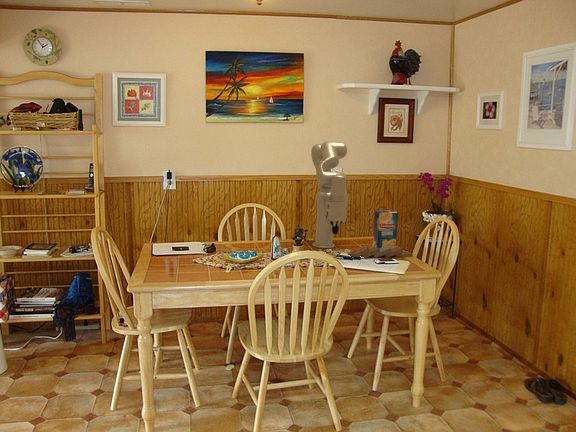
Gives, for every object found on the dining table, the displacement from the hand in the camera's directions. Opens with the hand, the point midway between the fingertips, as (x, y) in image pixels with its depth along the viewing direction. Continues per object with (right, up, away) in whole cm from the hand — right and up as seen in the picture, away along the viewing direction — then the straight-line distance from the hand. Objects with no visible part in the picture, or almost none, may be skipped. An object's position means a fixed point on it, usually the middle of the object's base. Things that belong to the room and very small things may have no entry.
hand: (334, 233), depth 285 cm
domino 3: (+20, -12, +6) cm, 24 cm away
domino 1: (+8, -12, +2) cm, 14 cm away
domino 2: (+14, -12, +4) cm, 19 cm away
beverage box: (+29, -10, +23) cm, 39 cm away
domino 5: (+32, -12, +10) cm, 36 cm away
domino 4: (+27, -12, +8) cm, 30 cm away
